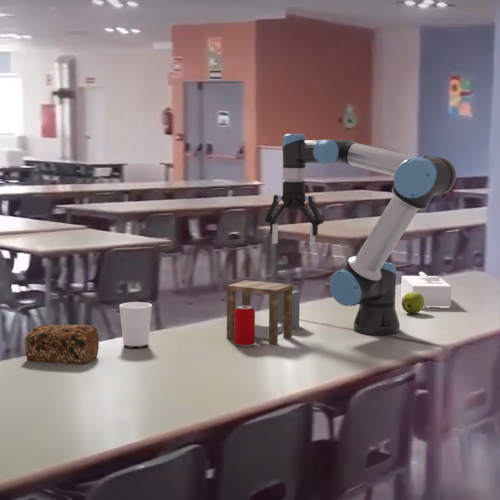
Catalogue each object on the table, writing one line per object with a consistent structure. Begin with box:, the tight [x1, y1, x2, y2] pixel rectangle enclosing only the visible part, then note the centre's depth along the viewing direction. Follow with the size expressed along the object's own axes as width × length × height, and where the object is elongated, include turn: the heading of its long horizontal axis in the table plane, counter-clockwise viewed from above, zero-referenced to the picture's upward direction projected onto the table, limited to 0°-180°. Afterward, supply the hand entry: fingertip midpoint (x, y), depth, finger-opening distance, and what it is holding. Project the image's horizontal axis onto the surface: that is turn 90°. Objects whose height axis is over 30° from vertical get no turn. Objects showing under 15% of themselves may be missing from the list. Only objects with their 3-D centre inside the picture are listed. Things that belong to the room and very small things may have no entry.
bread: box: [24, 324, 100, 365], centre depth 263 cm, size 19×11×10 cm, turn 75°
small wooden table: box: [226, 279, 293, 346], centre depth 291 cm, size 17×12×17 cm
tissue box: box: [400, 271, 453, 307], centre depth 357 cm, size 14×25×11 cm, turn 0°
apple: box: [401, 292, 424, 314], centre depth 334 cm, size 8×9×8 cm
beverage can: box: [233, 304, 256, 348], centre depth 282 cm, size 6×6×12 cm
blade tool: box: [255, 289, 301, 340], centre depth 302 cm, size 6×23×12 cm, turn 152°
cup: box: [118, 301, 153, 349], centre depth 279 cm, size 10×10×13 cm
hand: (293, 244), depth 308 cm, fingers open, 13 cm apart
